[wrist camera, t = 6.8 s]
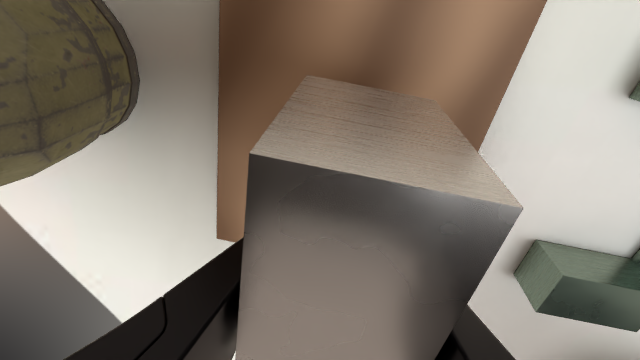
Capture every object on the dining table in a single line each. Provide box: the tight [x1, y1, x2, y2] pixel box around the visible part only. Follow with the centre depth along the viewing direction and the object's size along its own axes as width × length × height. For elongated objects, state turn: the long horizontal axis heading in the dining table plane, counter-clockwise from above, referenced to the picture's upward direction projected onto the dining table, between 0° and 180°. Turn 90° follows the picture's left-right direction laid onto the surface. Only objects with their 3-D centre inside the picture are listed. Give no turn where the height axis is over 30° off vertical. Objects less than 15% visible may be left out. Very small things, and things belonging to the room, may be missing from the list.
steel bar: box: [235, 75, 523, 360], centre depth 9 cm, size 4×8×6 cm, turn 170°
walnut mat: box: [217, 0, 547, 242], centre depth 17 cm, size 14×18×1 cm
